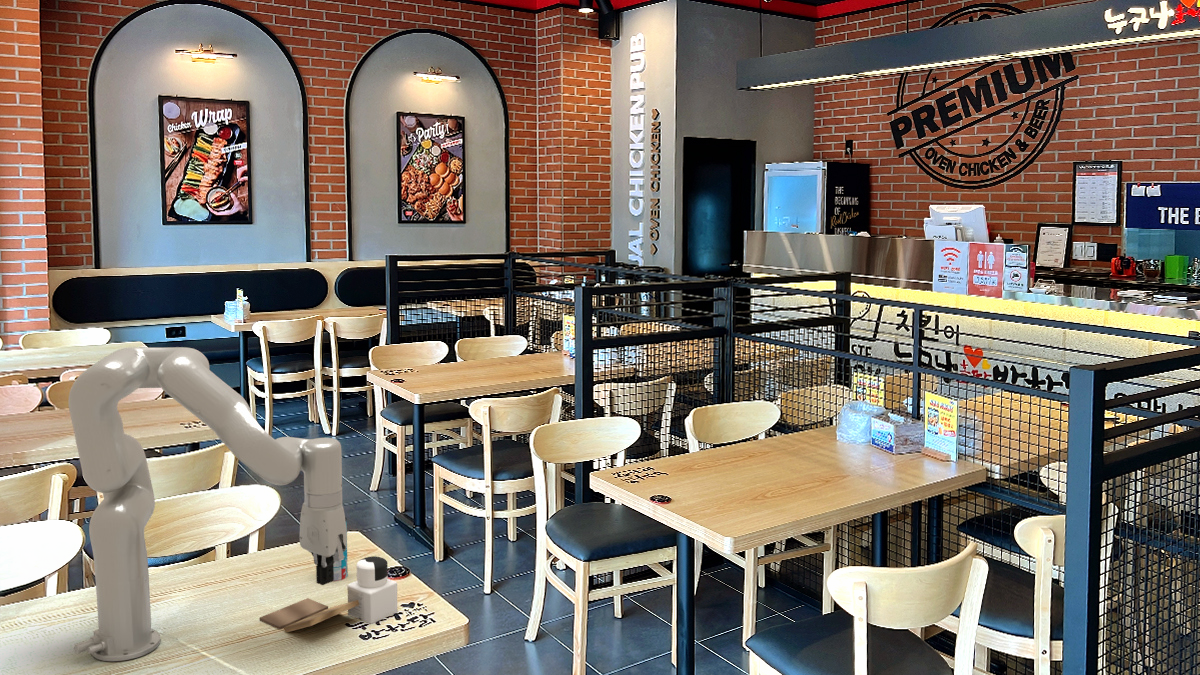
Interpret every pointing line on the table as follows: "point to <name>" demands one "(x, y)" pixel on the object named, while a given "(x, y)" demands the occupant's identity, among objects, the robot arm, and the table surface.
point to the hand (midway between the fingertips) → (325, 582)
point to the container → (372, 591)
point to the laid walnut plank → (293, 613)
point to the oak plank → (321, 616)
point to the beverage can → (341, 566)
